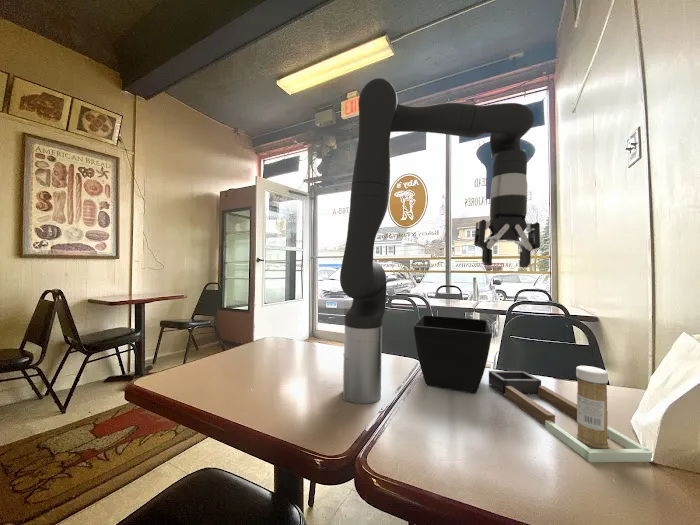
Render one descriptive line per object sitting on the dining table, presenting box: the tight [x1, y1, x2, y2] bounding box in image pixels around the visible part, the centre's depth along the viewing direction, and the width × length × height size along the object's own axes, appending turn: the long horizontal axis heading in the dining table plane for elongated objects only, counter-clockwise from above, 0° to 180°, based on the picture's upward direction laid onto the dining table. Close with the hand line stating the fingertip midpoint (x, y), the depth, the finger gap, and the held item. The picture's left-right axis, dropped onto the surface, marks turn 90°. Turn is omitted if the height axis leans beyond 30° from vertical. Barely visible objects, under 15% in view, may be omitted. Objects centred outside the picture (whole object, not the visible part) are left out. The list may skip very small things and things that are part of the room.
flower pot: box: [413, 314, 493, 394], centre depth 83 cm, size 19×19×17 cm
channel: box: [504, 385, 577, 427], centre depth 67 cm, size 10×15×2 cm, turn 2°
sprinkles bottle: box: [575, 365, 609, 449], centre depth 55 cm, size 5×5×13 cm
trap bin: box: [488, 370, 542, 395], centre depth 79 cm, size 10×7×4 cm
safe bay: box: [544, 420, 654, 463], centre depth 54 cm, size 11×10×2 cm
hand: (505, 266), depth 69 cm, fingers open, 8 cm apart
